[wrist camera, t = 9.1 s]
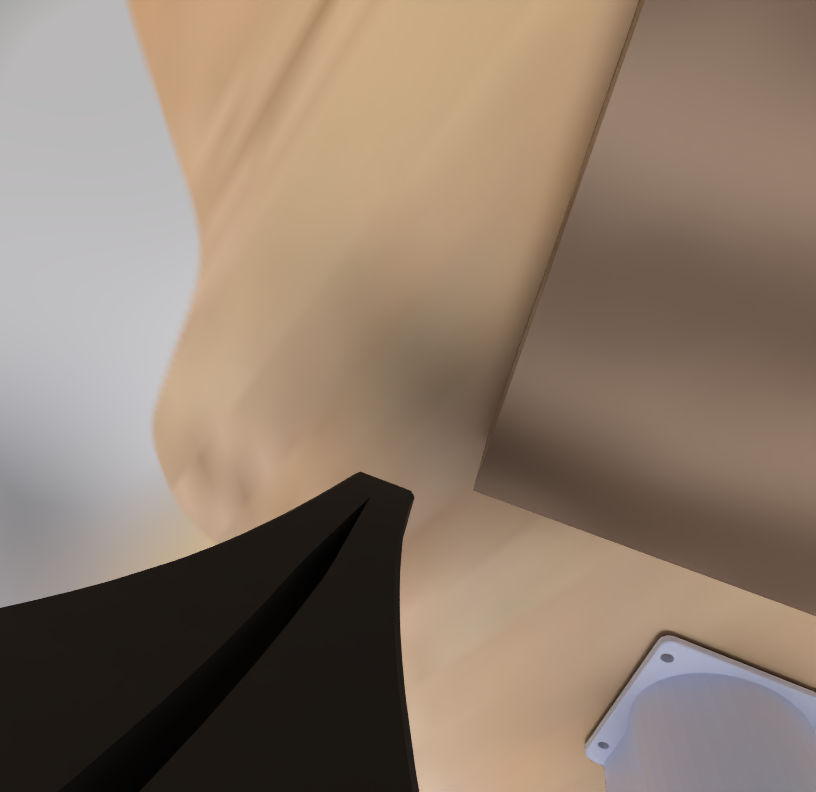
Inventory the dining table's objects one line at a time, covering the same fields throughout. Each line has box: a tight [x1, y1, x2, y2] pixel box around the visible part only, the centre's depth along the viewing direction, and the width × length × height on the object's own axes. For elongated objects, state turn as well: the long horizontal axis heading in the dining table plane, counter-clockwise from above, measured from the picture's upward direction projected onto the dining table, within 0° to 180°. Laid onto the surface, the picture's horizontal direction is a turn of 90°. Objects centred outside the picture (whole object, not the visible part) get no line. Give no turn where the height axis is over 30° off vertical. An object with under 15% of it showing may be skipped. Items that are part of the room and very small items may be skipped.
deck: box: [473, 0, 816, 616], centre depth 12 cm, size 16×12×4 cm
